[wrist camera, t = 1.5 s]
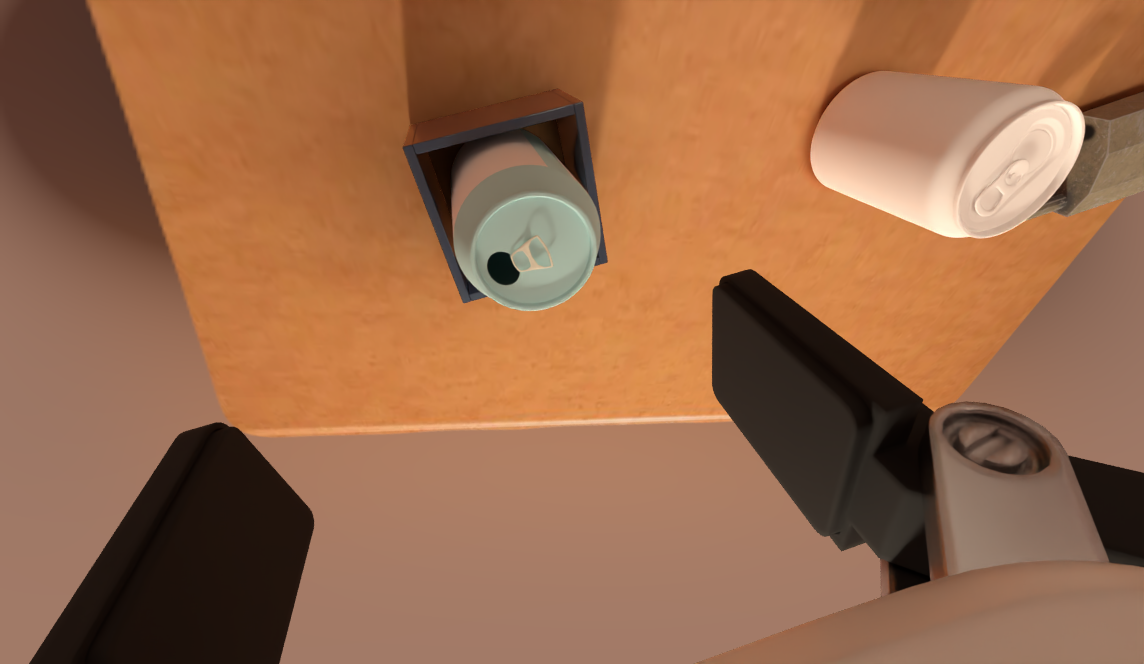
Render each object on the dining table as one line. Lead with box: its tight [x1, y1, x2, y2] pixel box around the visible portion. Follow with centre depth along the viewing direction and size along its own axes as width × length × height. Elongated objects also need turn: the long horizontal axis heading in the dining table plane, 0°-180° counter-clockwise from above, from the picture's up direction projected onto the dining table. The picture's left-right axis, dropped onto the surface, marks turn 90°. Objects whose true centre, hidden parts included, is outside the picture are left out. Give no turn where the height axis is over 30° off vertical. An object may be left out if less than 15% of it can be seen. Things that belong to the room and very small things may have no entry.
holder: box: [403, 89, 608, 303], centre depth 28 cm, size 9×9×6 cm
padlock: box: [1025, 92, 1144, 221], centre depth 38 cm, size 4×8×15 cm
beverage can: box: [810, 71, 1085, 238], centre depth 29 cm, size 8×8×12 cm
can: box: [450, 128, 601, 311], centre depth 25 cm, size 7×7×12 cm
